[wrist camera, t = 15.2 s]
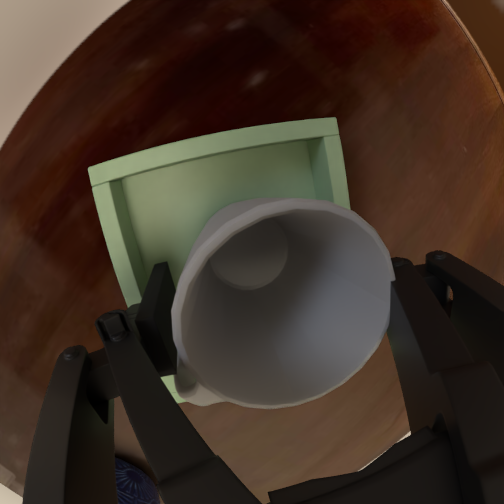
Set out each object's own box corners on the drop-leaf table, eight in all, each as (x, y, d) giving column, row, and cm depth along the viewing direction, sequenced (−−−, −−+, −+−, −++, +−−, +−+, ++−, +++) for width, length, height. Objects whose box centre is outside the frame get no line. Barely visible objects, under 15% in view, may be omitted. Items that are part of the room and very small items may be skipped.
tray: (104, 167, 15) (87, 167, 12) (314, 123, 17) (336, 116, 14) (172, 376, 20) (171, 404, 17) (339, 331, 21) (358, 352, 18)
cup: (333, 239, 18) (427, 294, 10) (229, 355, 19) (256, 459, 11) (240, 153, 15) (293, 139, 7) (130, 291, 16) (93, 388, 8)
